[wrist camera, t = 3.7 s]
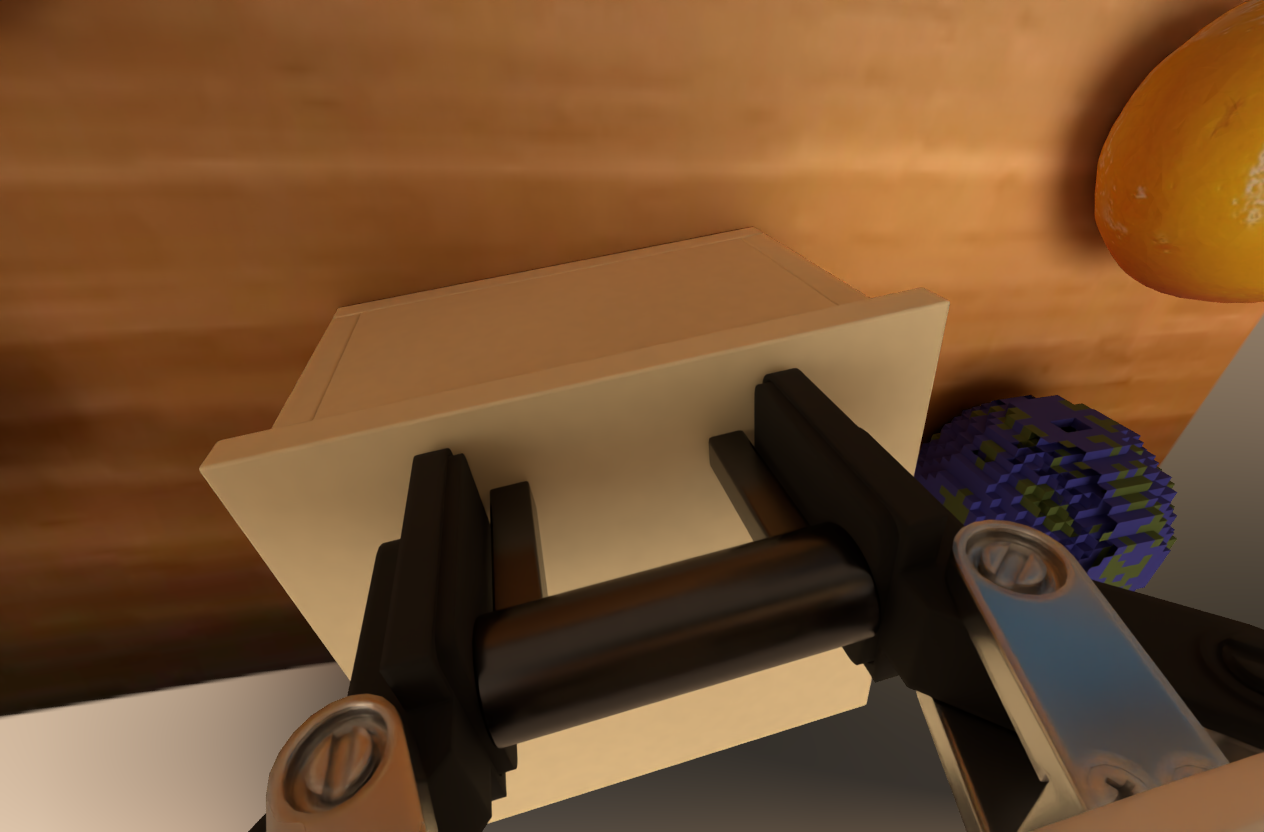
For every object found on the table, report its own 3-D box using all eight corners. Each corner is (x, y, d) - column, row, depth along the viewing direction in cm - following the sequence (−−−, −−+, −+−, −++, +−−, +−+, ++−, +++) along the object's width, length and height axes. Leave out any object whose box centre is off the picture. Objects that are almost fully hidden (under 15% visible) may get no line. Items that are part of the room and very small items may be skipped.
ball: (999, 505, 28) (1149, 633, 22) (862, 530, 27) (980, 676, 20) (1064, 362, 24) (1274, 471, 17) (904, 383, 22) (1070, 511, 16)
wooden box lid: (216, 439, 9) (-2, 756, 5) (922, 285, 11) (1204, 429, 6) (459, 802, 17) (453, 1049, 12) (853, 681, 18) (963, 865, 14)
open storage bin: (337, 307, 16) (242, 475, 10) (754, 225, 17) (914, 323, 11) (464, 593, 23) (459, 801, 17) (754, 517, 25) (852, 680, 18)
